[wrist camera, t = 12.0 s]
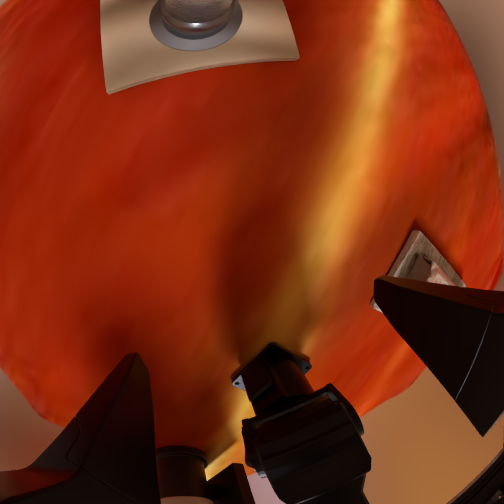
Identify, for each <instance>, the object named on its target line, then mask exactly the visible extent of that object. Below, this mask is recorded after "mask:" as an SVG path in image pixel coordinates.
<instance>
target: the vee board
mask: <svg viewBox="0 0 504 504" xmlns="http://www.w3.org/2000/svg"><path fill="white" fill-rule="evenodd" d="M100 22H101V43H102V56H103V67H104V76H105V85H106V92H107V93H108V94H112V93H115V92H118V91H121V90H124V89H127V88H130V87H133V86H136V85H140V84H143V83H146V82H150V81H154V80H157V79H161V78H165V77H169V76H173V75H178V74H182V73H187V72H192V71H197V70H203V69H208V68H215V67H221V66H228V65H236V64H245V63H256V62H270V61H296V60H298V59H299V58H300V55H299V51H298V48H297V44H296V41H295V37H294V34H293V31H292V27H291V24H290V21H289V18H288V14H287V11H286V8H285V5H284V2H283V0H235V7H234V9H233V12H232V14H231V17H230V19H229V22H228V24H227V25H226V27H225V28H224V29H223V30H222V31H220V32H219V33H217V34H216V35H214V36H211V37H208V38H205V39H199V40H188V39H182V38H179V37H176V36H174V35H172V34H171V33H169V32H168V31H167V30H166V28H165V27H164V25H163V22H162V13H161V0H100Z"/></svg>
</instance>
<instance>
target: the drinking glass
mask: <svg viewBox="0 0 504 504" xmlns="http://www.w3.org/2000/svg"><path fill="white" fill-rule="evenodd" d="M234 7H235V0H161V13H162V22H163V25H164V27H165V28H166V30H167V31H168V32H169V33H171V34H172V35H174V36H176V37H179V38H182V39H188V40H199V39H205V38H208V37H211V36H214V35H216V34H217V33H219V32H220V31H222V30H223V29H224V28H225V27H226V25H227V24H228V22H229V19H230V17H231V14H232V12H233V9H234Z"/></svg>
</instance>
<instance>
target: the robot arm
mask: <svg viewBox="0 0 504 504" xmlns="http://www.w3.org/2000/svg"><path fill="white" fill-rule="evenodd" d="M374 301H375V303H376V304H377V305H378V307H379V308H380V310H381V311H382V312H383V314H384V315H385V316H386V318H387V319H388V321H389V322H390V323H391V325H392V326H393V327H394V329H395V330H396V331H397V332H398V334H399V335H400V336H401V337H402V338H403V339H404V340H405V341H406V343H407V344H408V345H409V346H410V347H411V348H412V349H413V351H414V352H415V353H416V354H417V355H418V356H419V358H420V359H421V360H422V361H423V362H424V364H425V365H426V366H427V367H428V368H429V369H430V371H431V372H432V373H433V374H434V375H435V377H436V378H437V379H438V380H439V382H440V383H441V384H442V385H443V386H444V388H445V389H446V390H447V392H448V393H449V394H450V395H451V396H452V398H453V399H454V400H455V402H456V403H457V404H458V406H459V407H460V408H461V410H462V411H463V412H464V413H465V415H466V416H467V417H468V419H469V420H470V421H471V423H472V424H473V426H474V427H475V428H476V430H477V431H478V432H479V434H480V435H481V436H482V437H484V436H485V434H486V433H487V432H488V431H489V430H490V429H491V428H492V427H493V426H494V425H495V423H496V422H497V421H498V420H499V419H500V418H501V416H502V415H503V414H504V291H493V290H482V289H474V288H466V287H459V286H453V285H446V284H439V283H433V282H426V281H419V280H413V279H406V278H399V277H393V276H386V275H383V276H380V277H378V278H376V279H375V280H374ZM272 347H274V348H272ZM311 367H312V365H311V364H310V363H309V362H308V361H306V360H304V359H302V358H301V357H299V356H297V355H295V354H294V353H292V352H290V351H289V350H287V349H285V348H284V347H282V346H280V345H279V344H277V343H275V342H272V343H270V344H269V345H268V346H267V347H266V348H265V349H264V350H263V351H262V352H261V353H260V354H259V355H258V356H257V357H256V358H255V359H254V360H253V361H252V362H250V363H249V364H248V365H247V366H246V367H245V368H244V369H243V370H242V371H241V372H240V373H239V374H238V375H237V376H236V377H235V378H234V379H233V380H232V384H233V386H235V387H237V388H239V389H242V390H244V391H246V393H247V396H248V399H249V401H250V402H251V403H252V406H253V409H254V412H255V415H256V416H255V417H252V418H249V419H248V418H246V419H243V420H242V425H243V427H242V436H243V439H244V445H245V463H246V465H247V466H249V467H251V468H254V470H255V471H256V472H257V473H258V475H259V476H260V477H261V478H265V477H267V478H268V480H269V482H270V484H271V485H272V488H273V490H274V492H275V493H276V495H277V496H278V498H279V499H280V500H281V501H283V502H284V503H286V504H369V502H368V500H367V498H366V496H365V494H364V493H363V487H364V482H365V477H366V473H367V472H369V471H370V470H371V456H370V455H369V453H368V451H367V448H366V446H365V444H364V442H363V440H362V438H361V435H363V434H364V429H363V425H362V423H361V420H360V418H359V416H358V414H357V412H356V411H355V409H354V408H353V406H352V405H351V404H350V403H349V402H348V400H347V399H346V398H345V397H344V396H343V395H342V394H341V393H340V392H339V391H338V390H337V389H336V388H335V387H334V386H333V385H332V384H331V383H329V384H327V385H325V387H323V388H321V389H319V390H317V391H315V392H314V390H313V388H312V387H311V385H310V383H309V382H308V380H307V378H306V377H305V374H306V373H307V372H308V371H309V370H310V369H311ZM503 446H504V445H503ZM0 504H161V500H160V492H159V483H158V474H157V463H156V449H155V431H154V409H153V402H152V394H151V386H150V378H149V372H148V369H147V368H146V366H145V364H144V362H143V361H142V359H141V357H140V355H139V354H138V353H136V352H135V353H130V354H127V355H125V357H124V358H123V359H122V360H121V361H120V362H119V364H118V365H117V366H116V367H115V368H114V370H113V371H112V372H111V373H110V374H109V375H108V377H107V378H106V379H105V380H104V381H103V383H102V384H101V385H100V386H99V387H98V389H97V390H96V391H95V392H94V393H93V395H92V396H91V397H90V398H89V400H88V401H87V402H86V403H85V404H84V406H83V407H82V408H81V409H80V411H79V412H78V413H77V414H76V417H74V418H73V419H72V420H71V422H70V423H69V424H68V425H67V426H66V428H65V429H64V430H63V431H62V433H61V434H60V435H59V436H58V437H57V438H56V439H55V440H54V441H53V442H52V443H51V444H50V446H49V447H48V448H47V449H46V450H45V451H44V452H43V453H42V454H41V455H40V456H39V457H38V458H37V459H36V460H35V461H34V462H33V463H32V464H31V465H29V466H28V467H26V468H23V469H20V470H11V471H1V472H0ZM447 504H504V447H503V449H502V450H501V451H500V452H499V453H498V455H497V456H496V457H495V458H494V459H493V460H492V461H491V462H490V463H489V464H488V465H487V467H486V468H485V469H484V470H483V471H482V472H481V473H480V474H479V475H478V476H477V477H476V478H475V479H474V480H473V481H472V482H471V483H469V484H468V485H467V486H466V487H465V488H464V489H463V490H462V491H461V492H460V493H459V494H457V495H456V496H455V497H454V498H453V499H451V500H450V501H449V502H448V503H447Z"/></svg>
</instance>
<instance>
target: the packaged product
mask: <svg viewBox="0 0 504 504" xmlns="http://www.w3.org/2000/svg"><path fill="white" fill-rule="evenodd" d="M387 276H393V277H399V278H406V279H413V280H419V281H426V282H433V283H439V284H446V285H453V286H459V287H466V284H465V283H464V282H463V281H462V280H461V278H460V277H459V276H458V275H457V273H456V272H455V271H454V270H453V269H452V267H451V266H450V264H449V263H448V262H447V261H446V260H445V259H444V257H443V256H442V255H441V254H440V253H439V252H438V250H437V249H436V248H435V247H434V246H433V245H432V243H431V242H430V241H429V240H428V239H427V238H426V237H425V236H424V235H423V233H422V232H421V231H417V230H413V231H412V233H411V234H410V236H409V238H408V240H407V242H406V244H405V246H404V247H403V249H402V251H401V253H400V255H399V256H398V258H397V260H396V261H395V263H394V265H393V266H392V268H391V270H390V272H389V273H388V275H387ZM370 305H371V306H372V307H373V308H374V309H376V310H378V311H380V312H381V313H383V312H382V311H381V310H380V308H379V307H378V305H377V304H376V303H375V301H374V298H373V300H372V302H371V303H370Z"/></svg>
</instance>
